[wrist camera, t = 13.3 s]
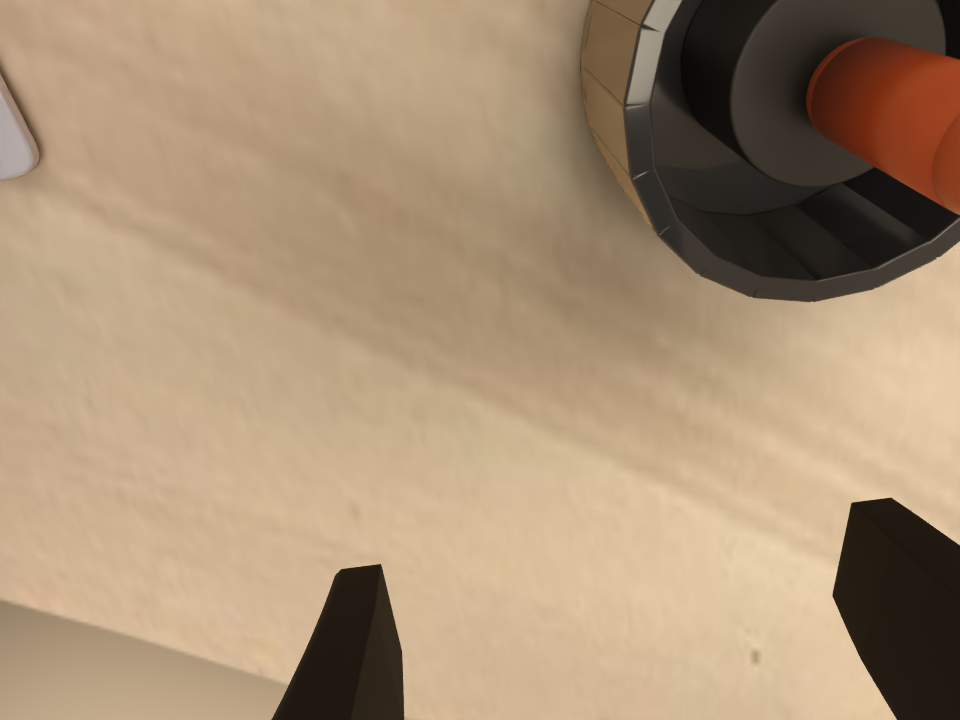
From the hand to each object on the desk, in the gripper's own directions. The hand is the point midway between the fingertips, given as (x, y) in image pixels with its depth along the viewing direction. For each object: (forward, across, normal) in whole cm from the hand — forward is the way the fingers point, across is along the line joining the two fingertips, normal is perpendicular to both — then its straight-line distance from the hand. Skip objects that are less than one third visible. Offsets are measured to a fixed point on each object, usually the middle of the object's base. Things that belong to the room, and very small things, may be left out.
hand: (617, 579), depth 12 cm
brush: (+9, -6, -6) cm, 12 cm away
